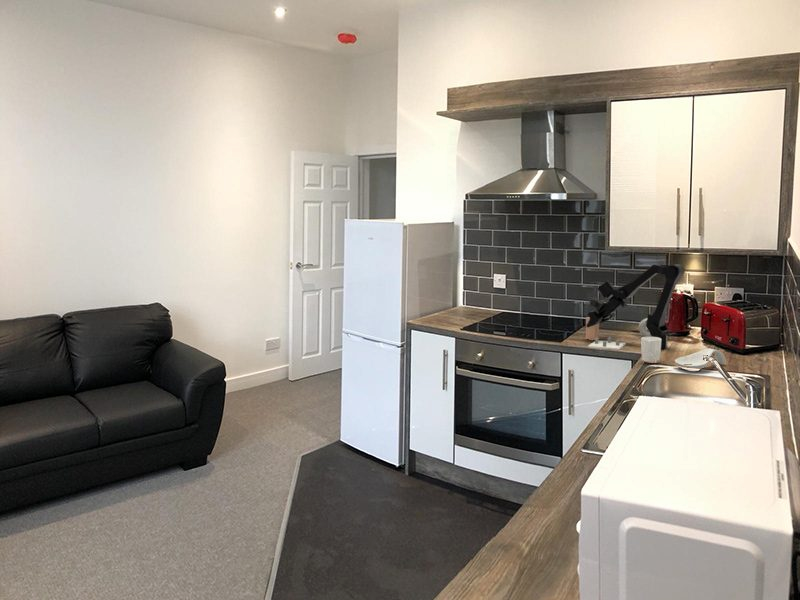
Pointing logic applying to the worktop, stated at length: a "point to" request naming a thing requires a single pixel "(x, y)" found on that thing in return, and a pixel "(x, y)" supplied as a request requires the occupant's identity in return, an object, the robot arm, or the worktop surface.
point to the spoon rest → (700, 359)
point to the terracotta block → (592, 331)
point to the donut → (644, 328)
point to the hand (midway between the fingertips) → (589, 325)
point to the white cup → (650, 348)
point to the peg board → (607, 344)
